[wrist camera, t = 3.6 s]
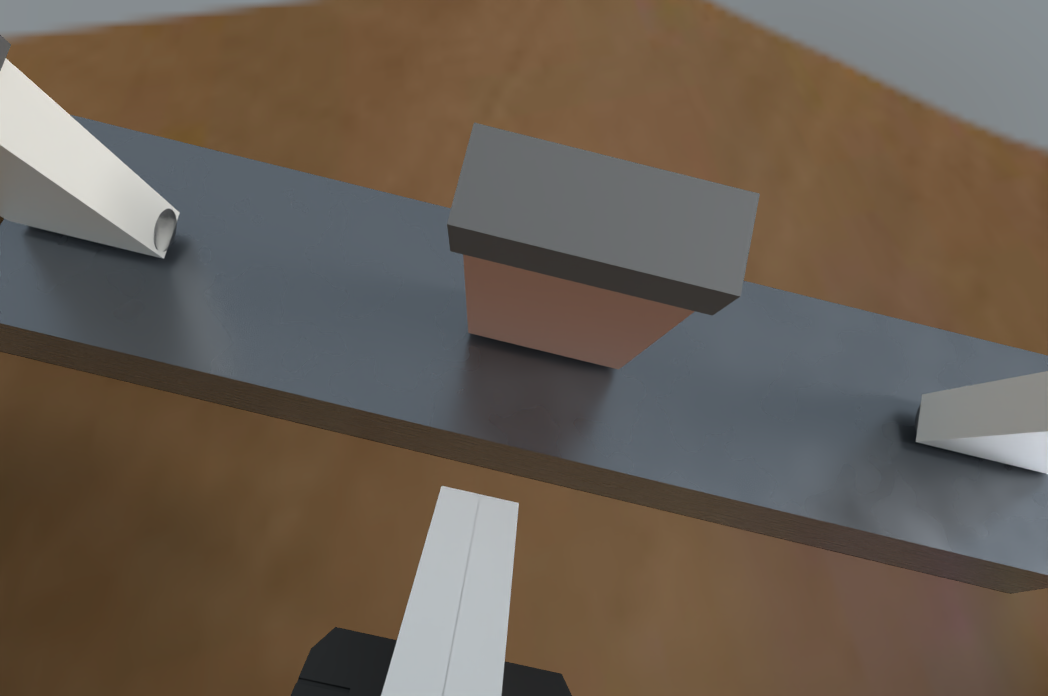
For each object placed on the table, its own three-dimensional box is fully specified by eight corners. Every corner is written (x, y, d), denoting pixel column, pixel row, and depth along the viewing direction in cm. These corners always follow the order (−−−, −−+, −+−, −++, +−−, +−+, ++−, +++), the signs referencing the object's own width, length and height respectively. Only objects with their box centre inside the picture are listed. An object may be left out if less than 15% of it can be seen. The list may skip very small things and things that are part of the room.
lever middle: (622, 377, 24) (740, 296, 13) (460, 338, 24) (446, 224, 13) (634, 319, 24) (759, 194, 14) (475, 280, 24) (474, 122, 13)
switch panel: (1011, 593, 26) (1083, 581, 23) (-2, 350, 25) (-57, 307, 22) (994, 387, 29) (1056, 355, 26) (103, 168, 29) (67, 111, 26)
